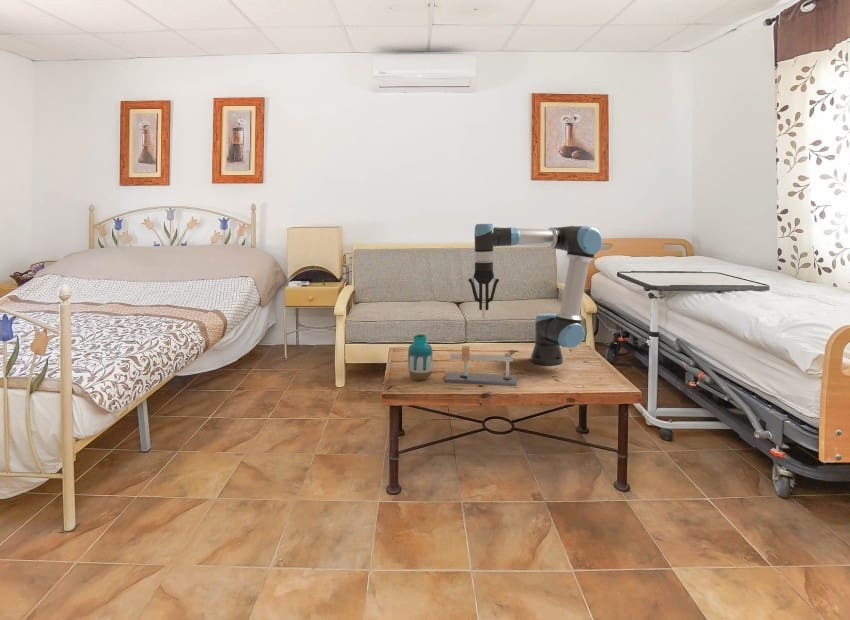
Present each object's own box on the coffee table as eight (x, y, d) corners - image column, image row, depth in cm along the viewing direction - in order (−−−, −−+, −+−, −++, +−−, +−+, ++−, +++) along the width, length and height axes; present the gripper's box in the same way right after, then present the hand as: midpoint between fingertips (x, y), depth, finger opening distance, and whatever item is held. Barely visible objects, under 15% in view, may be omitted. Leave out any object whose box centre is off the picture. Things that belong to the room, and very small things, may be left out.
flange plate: (516, 378, 228) (517, 375, 228) (516, 385, 218) (516, 382, 218) (448, 374, 233) (448, 371, 233) (444, 381, 223) (444, 378, 223)
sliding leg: (469, 374, 228) (469, 346, 226) (468, 376, 224) (469, 348, 222) (462, 373, 228) (462, 345, 226) (461, 376, 225) (461, 347, 222)
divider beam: (512, 377, 224) (512, 353, 222) (512, 379, 222) (512, 355, 220) (451, 374, 229) (451, 351, 227) (450, 376, 226) (450, 352, 224)
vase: (407, 375, 232) (407, 333, 229) (431, 374, 233) (431, 332, 230) (408, 383, 222) (408, 338, 218) (433, 382, 223) (433, 338, 219)
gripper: (500, 260, 220) (499, 316, 224) (468, 260, 222) (469, 315, 226) (499, 262, 212) (499, 319, 217) (467, 262, 215) (467, 319, 219)
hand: (483, 317), depth 221 cm, fingers closed
